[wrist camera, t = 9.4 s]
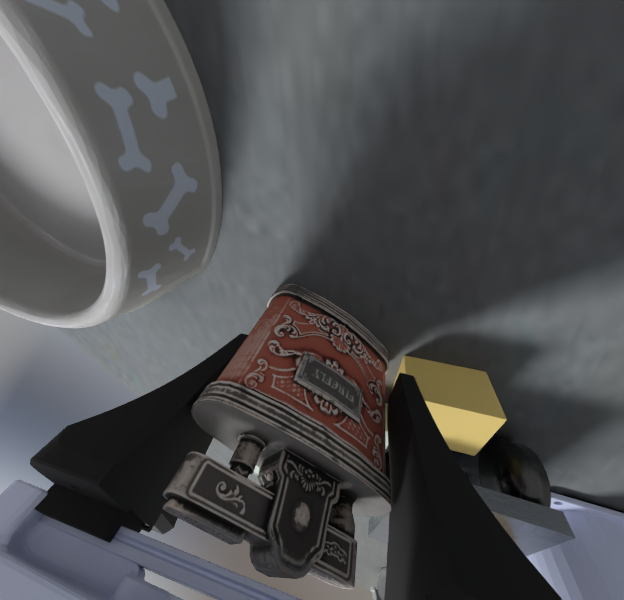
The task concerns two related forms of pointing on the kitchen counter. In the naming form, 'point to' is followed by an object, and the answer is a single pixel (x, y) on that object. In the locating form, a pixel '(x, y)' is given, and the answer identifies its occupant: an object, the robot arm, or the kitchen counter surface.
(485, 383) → the block
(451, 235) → the kitchen counter surface
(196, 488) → the lighter
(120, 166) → the dog bowl
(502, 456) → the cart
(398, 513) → the robot arm
